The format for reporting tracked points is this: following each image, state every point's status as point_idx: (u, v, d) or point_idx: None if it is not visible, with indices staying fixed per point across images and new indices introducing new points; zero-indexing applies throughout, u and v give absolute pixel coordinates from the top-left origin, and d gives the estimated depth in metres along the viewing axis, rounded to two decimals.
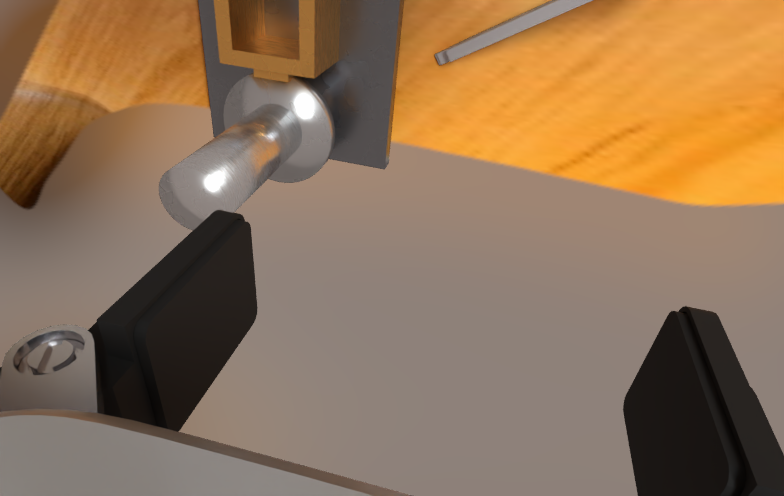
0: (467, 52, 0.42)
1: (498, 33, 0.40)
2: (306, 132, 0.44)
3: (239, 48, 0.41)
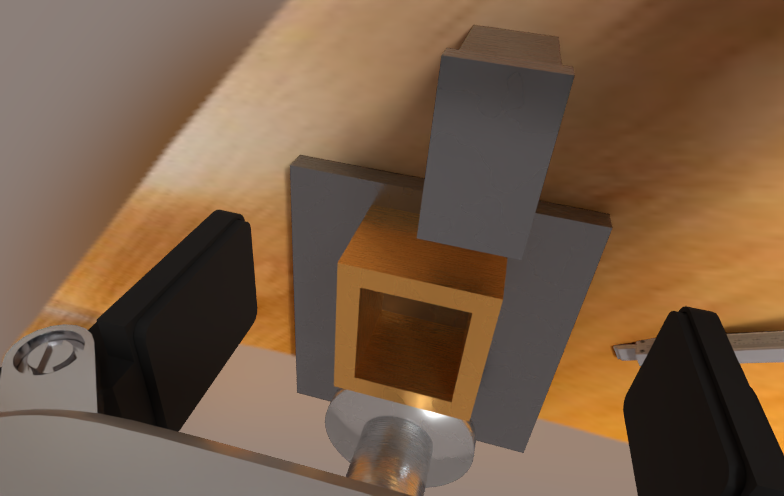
0: None
1: None
2: (439, 449, 0.33)
3: (362, 370, 0.29)
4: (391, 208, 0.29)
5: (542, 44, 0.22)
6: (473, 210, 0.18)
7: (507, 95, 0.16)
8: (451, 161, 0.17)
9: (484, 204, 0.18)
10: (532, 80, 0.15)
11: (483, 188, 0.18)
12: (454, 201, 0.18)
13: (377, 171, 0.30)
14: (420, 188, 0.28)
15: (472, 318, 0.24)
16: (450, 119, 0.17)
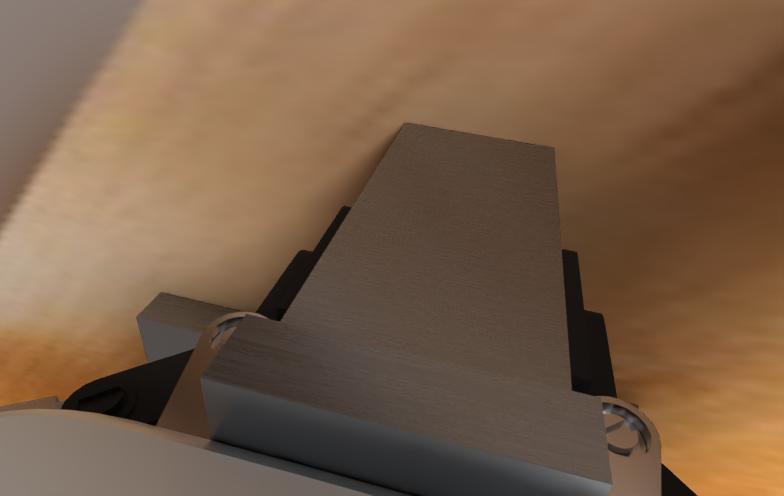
0: None
1: None
2: None
3: None
4: None
5: (523, 177, 0.12)
6: None
7: (406, 487, 0.05)
8: None
9: None
10: (476, 472, 0.05)
11: None
12: None
13: None
14: None
15: None
16: None
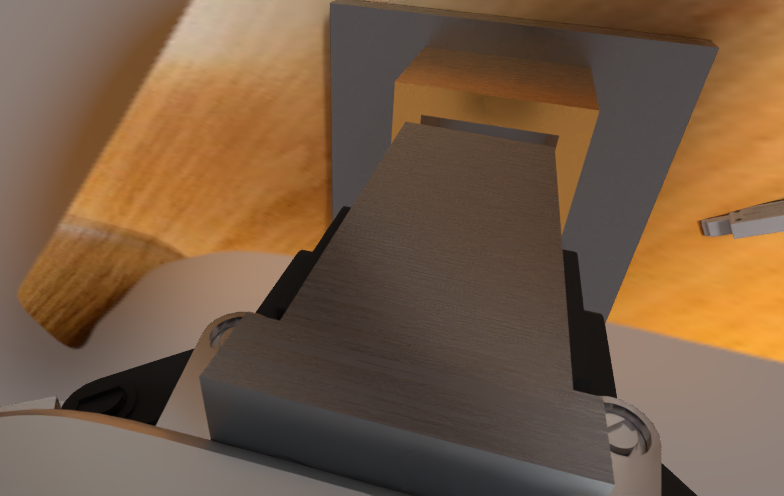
0: (772, 230, 0.26)
1: None
2: None
3: None
4: (448, 49, 0.25)
5: (524, 176, 0.12)
6: None
7: (406, 487, 0.05)
8: None
9: None
10: (478, 471, 0.05)
11: None
12: None
13: (430, 9, 0.26)
14: (483, 19, 0.24)
15: (558, 143, 0.20)
16: None
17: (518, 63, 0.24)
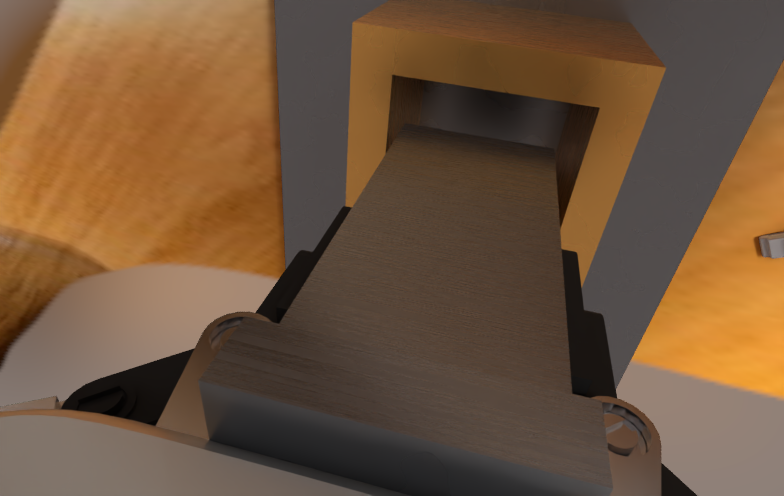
0: None
1: None
2: None
3: None
4: None
5: (523, 178, 0.12)
6: None
7: (405, 490, 0.05)
8: None
9: None
10: (476, 475, 0.05)
11: None
12: None
13: None
14: None
15: (598, 120, 0.13)
16: None
17: (531, 14, 0.17)
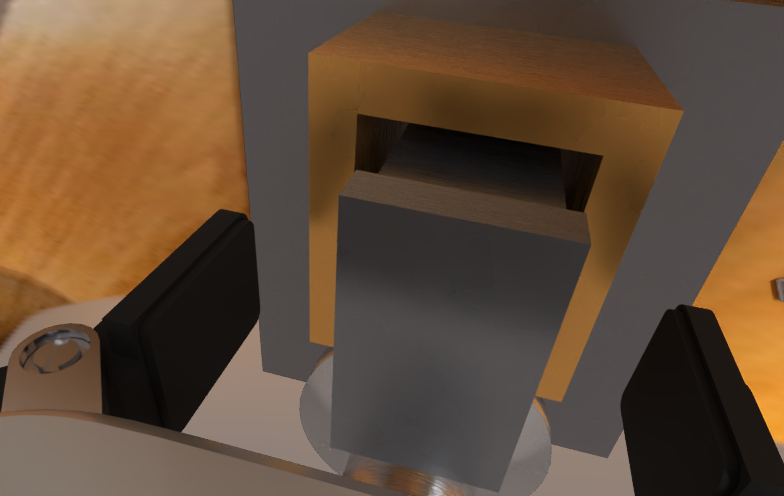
0: None
1: None
2: None
3: None
4: (413, 15, 0.16)
5: None
6: (416, 423, 0.11)
7: (464, 267, 0.08)
8: (374, 354, 0.10)
9: (434, 417, 0.11)
10: (510, 247, 0.08)
11: (431, 396, 0.10)
12: (384, 408, 0.11)
13: None
14: None
15: (601, 169, 0.11)
16: (365, 294, 0.09)
17: (523, 37, 0.15)
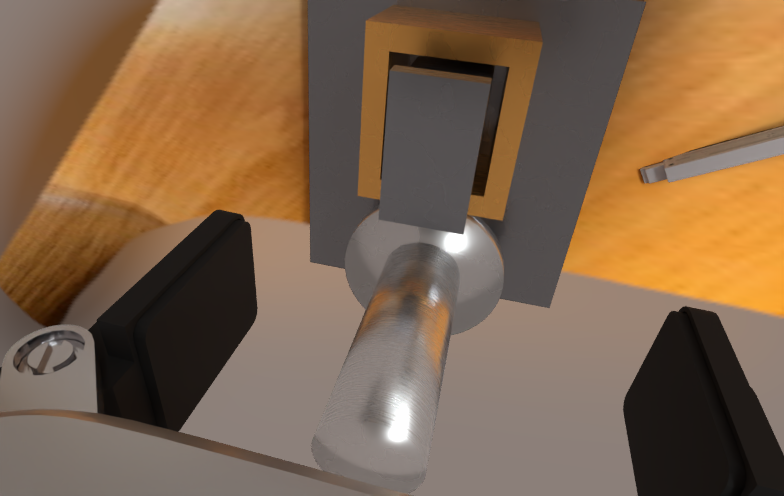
0: (700, 172, 0.30)
1: (759, 151, 0.28)
2: (467, 279, 0.31)
3: None
4: (414, 6, 0.28)
5: None
6: (422, 194, 0.23)
7: (441, 100, 0.20)
8: (402, 154, 0.22)
9: (430, 189, 0.22)
10: (459, 88, 0.20)
11: (429, 175, 0.22)
12: (406, 187, 0.23)
13: None
14: None
15: (509, 74, 0.23)
16: (399, 120, 0.21)
17: (475, 17, 0.27)
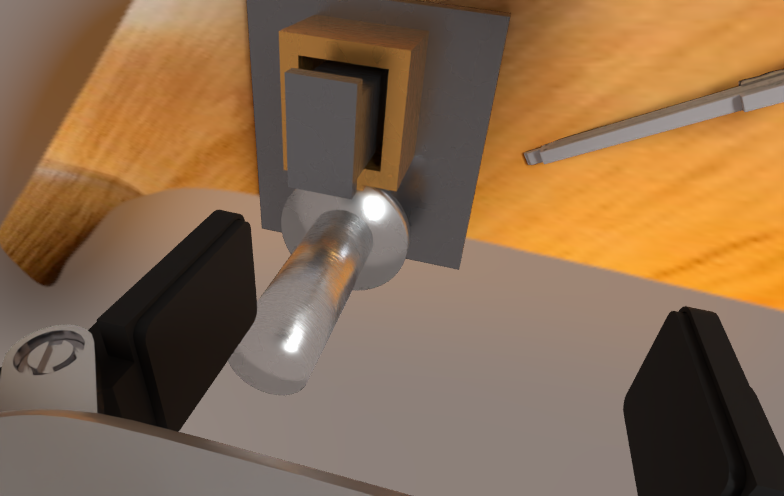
0: (566, 156, 0.36)
1: (608, 139, 0.34)
2: (378, 241, 0.38)
3: None
4: (331, 16, 0.35)
5: None
6: (318, 167, 0.29)
7: (324, 95, 0.27)
8: (300, 136, 0.29)
9: (323, 163, 0.29)
10: (335, 87, 0.27)
11: (321, 152, 0.29)
12: (306, 161, 0.29)
13: None
14: None
15: (389, 75, 0.30)
16: (295, 109, 0.28)
17: (377, 26, 0.34)
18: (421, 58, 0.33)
